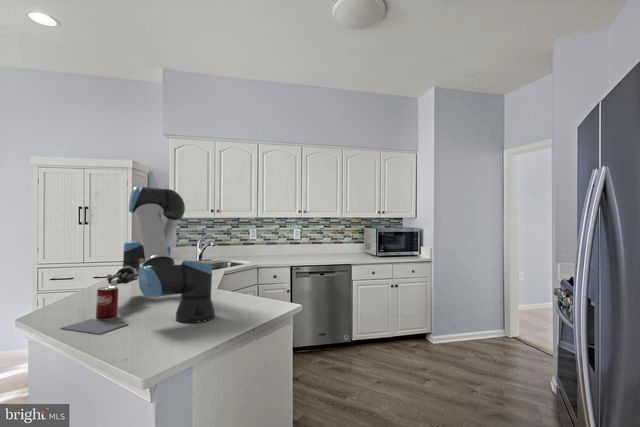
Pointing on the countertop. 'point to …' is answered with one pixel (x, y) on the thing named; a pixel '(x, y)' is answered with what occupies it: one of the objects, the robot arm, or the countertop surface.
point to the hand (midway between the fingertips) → (113, 283)
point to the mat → (94, 326)
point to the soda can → (107, 303)
